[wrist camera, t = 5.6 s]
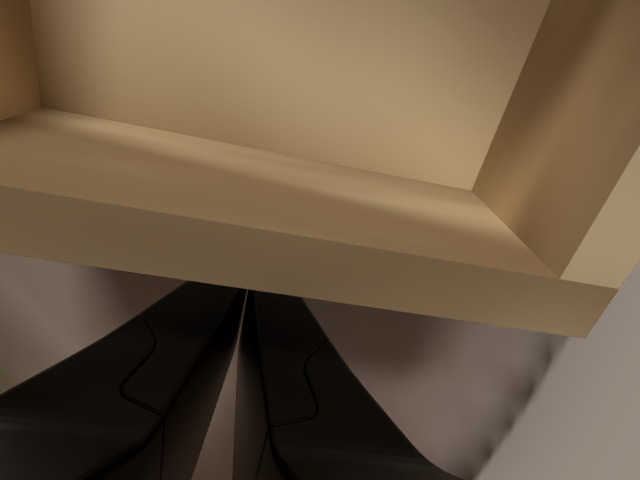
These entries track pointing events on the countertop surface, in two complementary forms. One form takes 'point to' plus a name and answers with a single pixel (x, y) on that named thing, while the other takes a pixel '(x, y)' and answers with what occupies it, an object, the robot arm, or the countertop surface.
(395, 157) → the socket block
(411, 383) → the countertop surface
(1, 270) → the countertop surface
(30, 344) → the countertop surface
